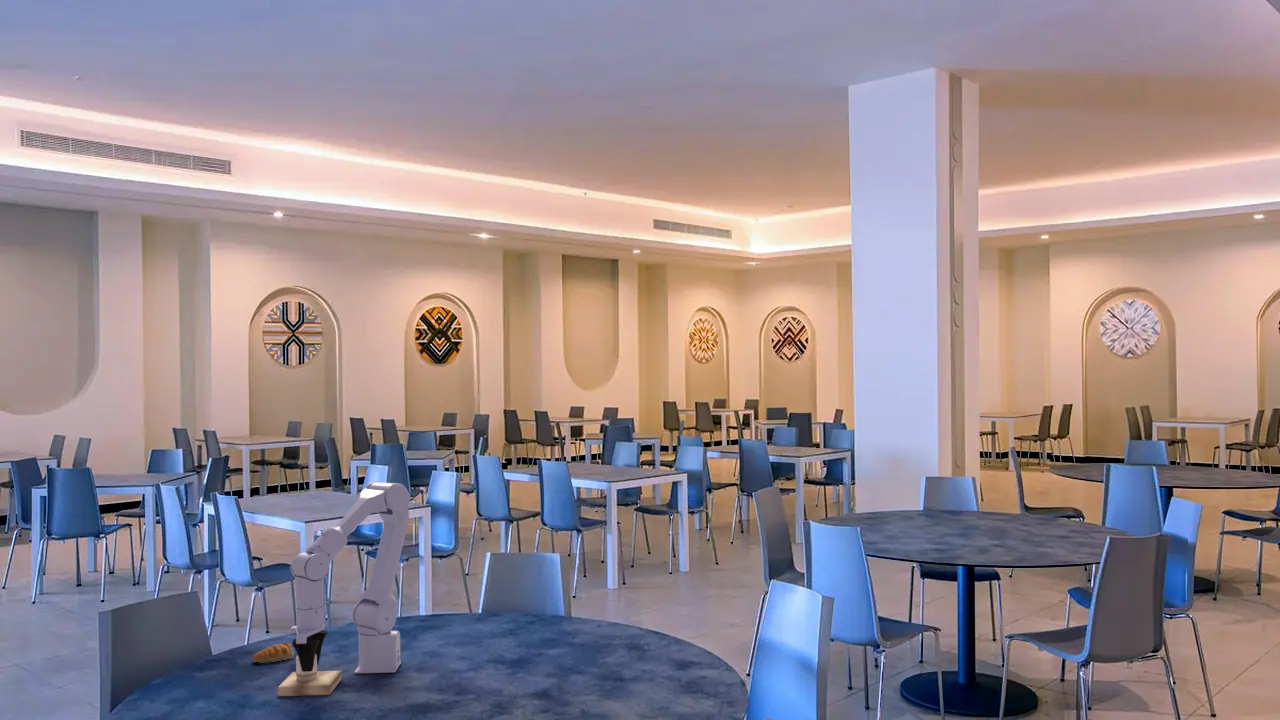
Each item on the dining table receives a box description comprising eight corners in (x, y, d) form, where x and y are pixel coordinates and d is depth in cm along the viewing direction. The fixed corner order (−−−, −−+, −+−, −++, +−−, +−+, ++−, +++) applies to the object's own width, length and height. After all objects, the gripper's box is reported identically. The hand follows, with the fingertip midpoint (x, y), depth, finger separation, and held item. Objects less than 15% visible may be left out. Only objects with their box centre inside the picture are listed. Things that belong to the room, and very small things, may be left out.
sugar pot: (320, 675, 228) (320, 653, 228) (311, 681, 224) (311, 658, 224) (301, 675, 229) (301, 652, 229) (292, 681, 224) (292, 658, 224)
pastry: (259, 667, 243) (259, 651, 243) (247, 662, 248) (247, 646, 248) (296, 659, 250) (296, 644, 250) (284, 654, 255) (284, 639, 255)
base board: (341, 679, 232) (341, 670, 232) (329, 694, 221) (329, 685, 221) (292, 680, 232) (292, 671, 232) (278, 696, 221) (278, 686, 221)
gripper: (300, 600, 234) (301, 659, 233) (281, 615, 219) (282, 678, 219) (331, 599, 234) (332, 658, 234) (314, 614, 219) (315, 677, 219)
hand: (310, 667), depth 226 cm, fingers closed on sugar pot, 4 cm apart
